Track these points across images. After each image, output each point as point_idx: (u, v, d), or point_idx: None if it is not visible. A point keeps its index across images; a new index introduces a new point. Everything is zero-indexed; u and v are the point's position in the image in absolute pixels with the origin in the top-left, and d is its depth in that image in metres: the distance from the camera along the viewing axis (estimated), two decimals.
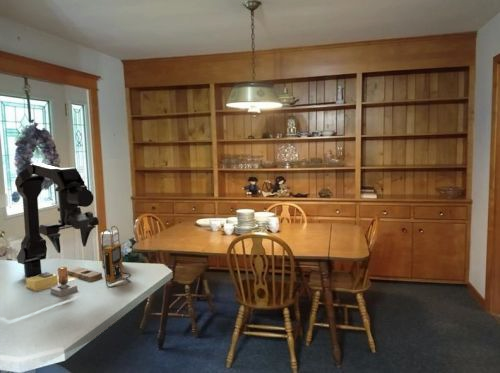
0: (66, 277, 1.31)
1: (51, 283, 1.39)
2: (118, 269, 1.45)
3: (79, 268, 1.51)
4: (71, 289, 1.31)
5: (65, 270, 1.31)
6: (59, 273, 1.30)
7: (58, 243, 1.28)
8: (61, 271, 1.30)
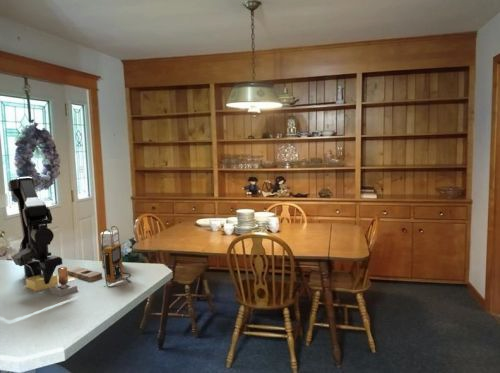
0: (66, 277, 1.31)
1: (51, 283, 1.39)
2: (118, 269, 1.45)
3: (79, 268, 1.51)
4: (71, 289, 1.31)
5: (65, 270, 1.31)
6: (59, 273, 1.30)
7: (32, 272, 1.39)
8: (61, 271, 1.30)
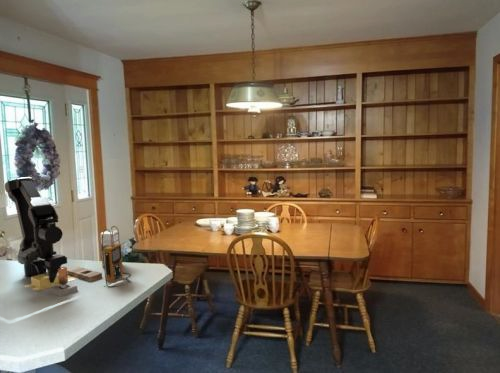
0: (66, 277, 1.31)
1: (56, 281, 1.40)
2: (118, 269, 1.45)
3: (79, 268, 1.51)
4: (71, 289, 1.31)
5: (65, 270, 1.31)
6: (59, 273, 1.30)
7: (37, 270, 1.41)
8: (61, 271, 1.30)
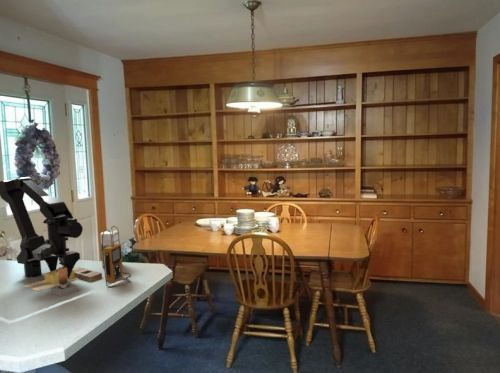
0: (66, 277, 1.31)
1: None
2: (118, 269, 1.45)
3: (79, 268, 1.51)
4: (71, 289, 1.31)
5: (65, 270, 1.31)
6: (59, 273, 1.30)
7: (48, 266, 1.46)
8: (61, 271, 1.30)
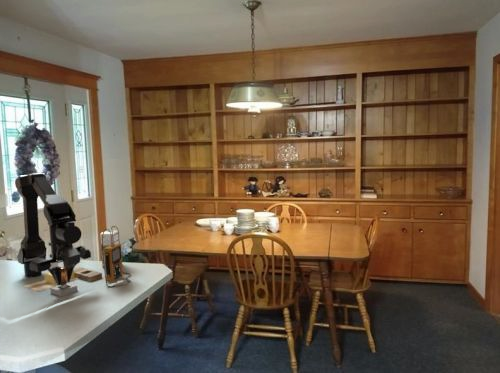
0: (66, 277, 1.31)
1: None
2: (118, 269, 1.45)
3: (79, 268, 1.51)
4: (71, 289, 1.31)
5: (65, 270, 1.31)
6: None
7: (58, 276, 1.29)
8: (61, 271, 1.30)
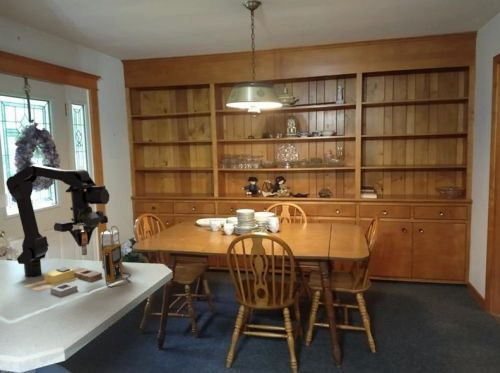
0: (86, 239, 1.45)
1: (68, 277, 1.44)
2: (118, 269, 1.45)
3: (79, 268, 1.51)
4: (71, 289, 1.31)
5: (85, 232, 1.44)
6: None
7: (79, 237, 1.42)
8: (81, 233, 1.43)
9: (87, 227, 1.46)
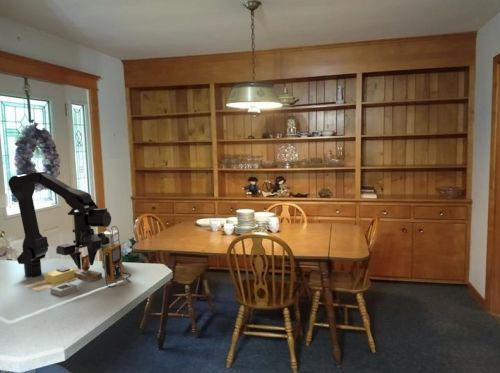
0: (88, 263, 1.46)
1: (68, 277, 1.44)
2: (118, 269, 1.45)
3: None
4: (71, 289, 1.31)
5: (87, 257, 1.45)
6: (82, 260, 1.45)
7: (79, 260, 1.43)
8: (84, 258, 1.44)
9: (91, 248, 1.48)
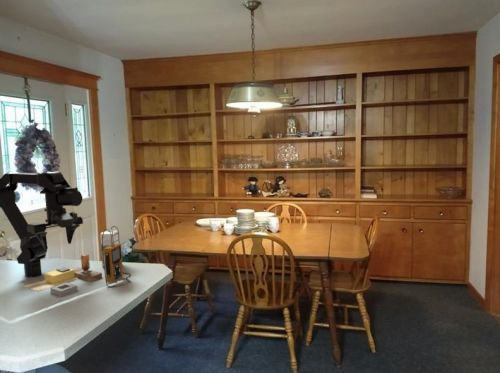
0: (88, 263, 1.46)
1: (68, 277, 1.44)
2: (118, 269, 1.45)
3: (79, 268, 1.51)
4: (71, 289, 1.31)
5: (87, 257, 1.45)
6: (82, 260, 1.45)
7: (45, 240, 1.41)
8: (84, 258, 1.44)
9: (69, 227, 1.50)
